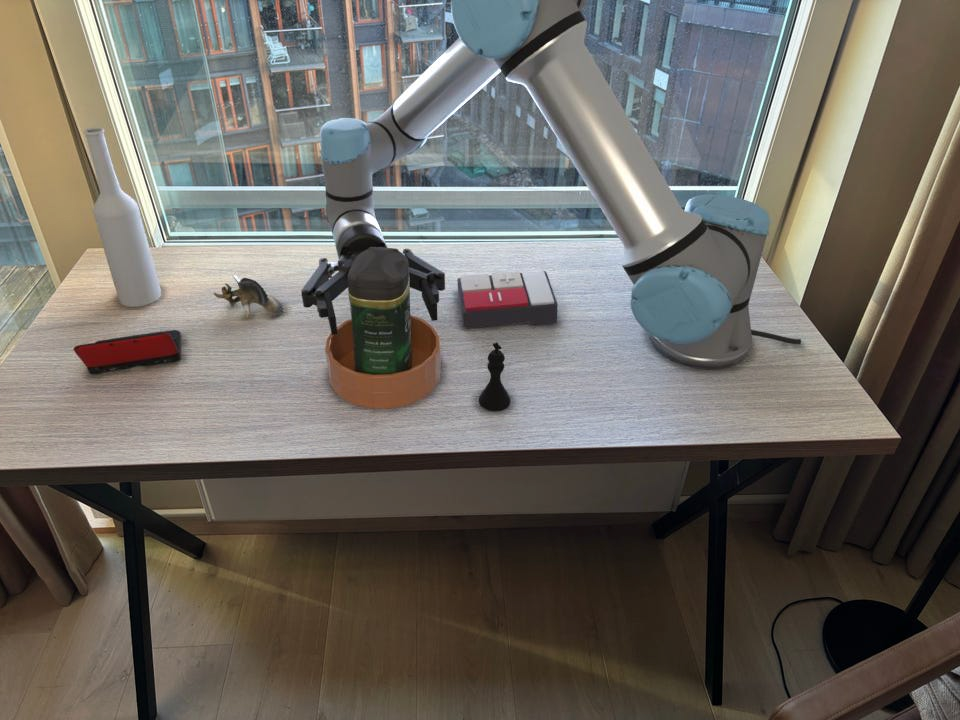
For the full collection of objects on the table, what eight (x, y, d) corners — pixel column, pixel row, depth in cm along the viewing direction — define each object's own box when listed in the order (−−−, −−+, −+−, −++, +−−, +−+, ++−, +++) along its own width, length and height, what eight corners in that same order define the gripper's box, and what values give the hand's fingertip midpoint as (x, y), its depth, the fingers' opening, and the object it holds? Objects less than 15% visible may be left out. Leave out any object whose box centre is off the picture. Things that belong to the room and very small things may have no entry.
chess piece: (494, 387, 109) (497, 329, 104) (516, 402, 107) (520, 343, 101) (472, 400, 107) (473, 341, 101) (494, 416, 104) (496, 356, 98)
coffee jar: (407, 394, 107) (401, 279, 96) (351, 390, 108) (339, 275, 97) (417, 353, 115) (413, 242, 104) (364, 350, 116) (355, 239, 105)
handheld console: (182, 334, 119) (171, 293, 114) (181, 375, 110) (169, 333, 106) (94, 346, 116) (79, 304, 111) (86, 390, 107) (70, 346, 103)
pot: (453, 351, 116) (453, 320, 113) (421, 417, 104) (420, 385, 101) (354, 334, 119) (351, 304, 116) (311, 397, 107) (306, 366, 104)
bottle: (168, 287, 129) (126, 123, 113) (149, 308, 124) (102, 139, 108) (131, 284, 130) (84, 120, 114) (111, 304, 125) (58, 136, 108)
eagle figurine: (215, 319, 120) (268, 315, 118) (211, 273, 120) (264, 268, 118) (239, 319, 127) (290, 315, 126) (235, 276, 127) (286, 271, 125)
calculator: (456, 273, 128) (546, 266, 129) (458, 295, 130) (545, 288, 131) (462, 309, 119) (558, 300, 120) (463, 332, 122) (557, 323, 123)
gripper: (439, 257, 124) (474, 329, 107) (281, 276, 118) (293, 355, 102) (438, 215, 119) (475, 283, 103) (274, 232, 114) (285, 307, 97)
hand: (385, 319), depth 102 cm, fingers open, 13 cm apart
